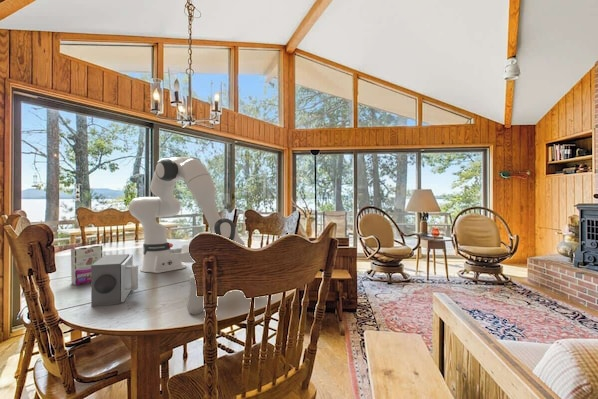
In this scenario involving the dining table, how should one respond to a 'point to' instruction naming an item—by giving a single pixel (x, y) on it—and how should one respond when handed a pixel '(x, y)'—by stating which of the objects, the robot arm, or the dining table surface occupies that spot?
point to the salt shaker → (194, 299)
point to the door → (128, 277)
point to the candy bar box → (84, 262)
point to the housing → (106, 280)
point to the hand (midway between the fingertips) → (168, 253)
